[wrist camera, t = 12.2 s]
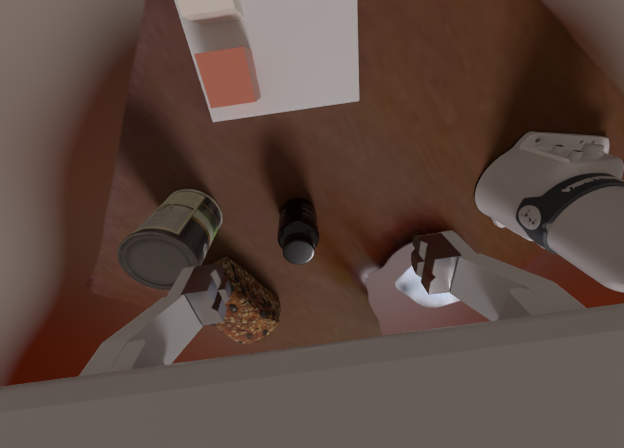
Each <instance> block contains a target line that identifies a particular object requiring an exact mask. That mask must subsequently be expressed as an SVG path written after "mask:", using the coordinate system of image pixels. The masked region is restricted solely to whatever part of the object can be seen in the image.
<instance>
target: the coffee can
mask: <svg viewBox="0 0 624 448" xmlns="http://www.w3.org/2000/svg"><path fill="white" fill-rule="evenodd" d="M221 223H222V212H221V209H220V207H219V205H218V204H217V203H216V201H215V200H214V199H213V198H211V197H210V196H209V195H207V194H205V193H203V192H201V191H198V190H194V189H181V190H178V191H175V192H174V193H172V194H171V195H170V196H169V197H168V198H167V199H166V200H165V201H164V202H163V203H162V204H161V205H160V206H159V207H158V208H157V209H156V210H155V211H154V212H153V213H152V214H151V215H150V216H149V217H148V218H147V219H146V220H145V221H144V222H143V223H142V224H141V225H140V226H139V227H138V228H137V229H136V230H135V231H134V232H133V233H132V234H131V235H129V236H128V237H127V238H125V239H124V240H123V241H122V243H121V244H120V246H119V248H118V260H119V263H120V265H121V266H122V268H123V269H124V271H125V272H126V273H127V274H128V275H129V276H130V277H132V278H133V279H134V280H136V281H138V282H139V283H141V284H143V285H146V286H149V287H152V288H156V289H161V290H171V288H172V287H173V285H174V283H175V281H176V280H177V278H178V276H179V274H180V273H181V271H182V269H184V268H186V267H194V266H201V264H202V262H203V260H204V258H205V256H206V254H207V251H208V249H209V247H210V245H211V243H212V241H213V239H214V237H215V235H216V233H217V231H218V229H219V227H220V226H221Z"/></svg>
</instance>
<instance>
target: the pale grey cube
mask: <svg viewBox="0 0 624 448" xmlns="http://www.w3.org/2000/svg"><path fill="white" fill-rule="evenodd" d="M177 2H178V6H179V9H180V12H181V15H182V16H183V17H185V18H187V19H189V20H191V21H193V22H195V23H197V24H199V25H204V24H211V23H218V22H224V21H231V20H238V19H244V14H243V9H242V5H241V0H177Z"/></svg>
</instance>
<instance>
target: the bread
mask: <svg viewBox="0 0 624 448" xmlns="http://www.w3.org/2000/svg"><path fill="white" fill-rule="evenodd" d="M218 263H220V264H222V265H223V267H224V269H225V272H224V276H226V277H227V278H228V279H229V281H230V285H231V296H230V300H229V301H228V302H227V303H226V304H225V305H226V308H227V310H226V314H225V317H224V321H223V322H222V323H216V324H210V326H212V327H215V328H216V329H218V330H219V331H220V332H222V333H224V334H226V335H227V336H229V337H230V338H232V339H234V340H235V341H237V342H238V343H241V344H250V343H252V342H255V341H257V340H261V339H263V338H264V337H266V336H267V335H268V334H269V333H270V332H271V331H274V330H275V328H276V327H277V326H278V324H279V322H280V311H281V307H280V302H279V300H278V298H277V297H276V296H274V295H273V294H272V293H271V292H270V291H269V290H267V289H266V288H265V287H264V286H263V285H261V283H259V282H258V281H257V280H256V279H255V278H254V277H252V276H251V275H250V274H248V273H247V271H246V270H245V269H243V268H242V267H241V266H240V265H239V264H237V263H236V262H235V261H232V260H231V259H230V258H229V257H227V256H226V257H223V258H221V259H219V260H217V261H216V262H214V263H212V264H218Z"/></svg>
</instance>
